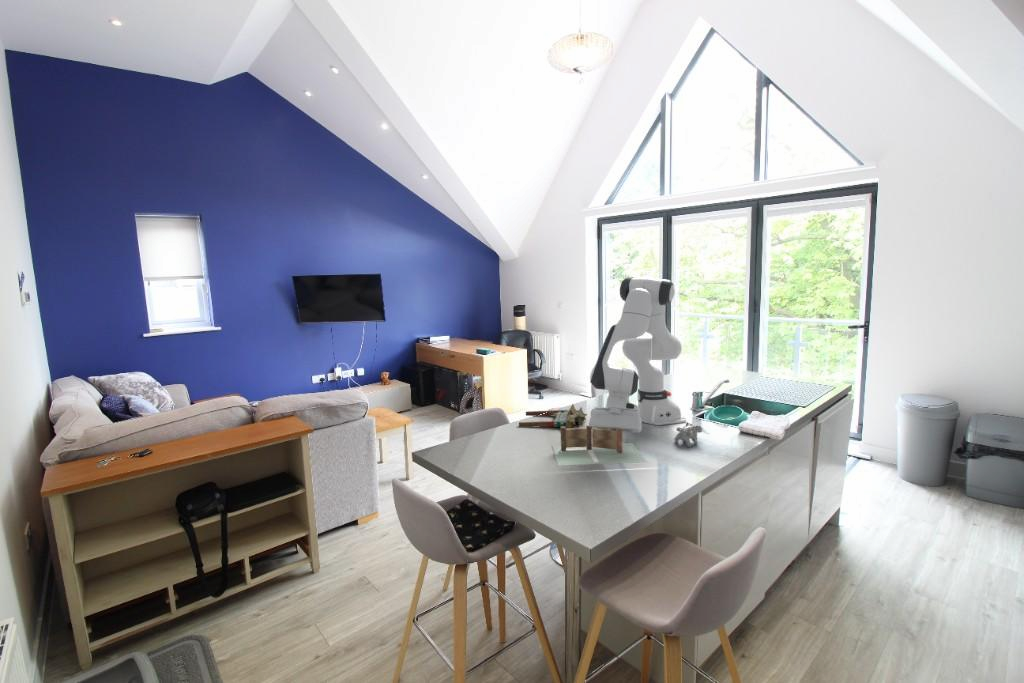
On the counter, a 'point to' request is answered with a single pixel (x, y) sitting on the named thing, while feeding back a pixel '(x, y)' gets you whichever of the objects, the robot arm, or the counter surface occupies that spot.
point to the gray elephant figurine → (688, 433)
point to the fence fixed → (576, 437)
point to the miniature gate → (557, 418)
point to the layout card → (599, 456)
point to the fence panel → (607, 439)
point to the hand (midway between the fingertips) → (612, 440)
